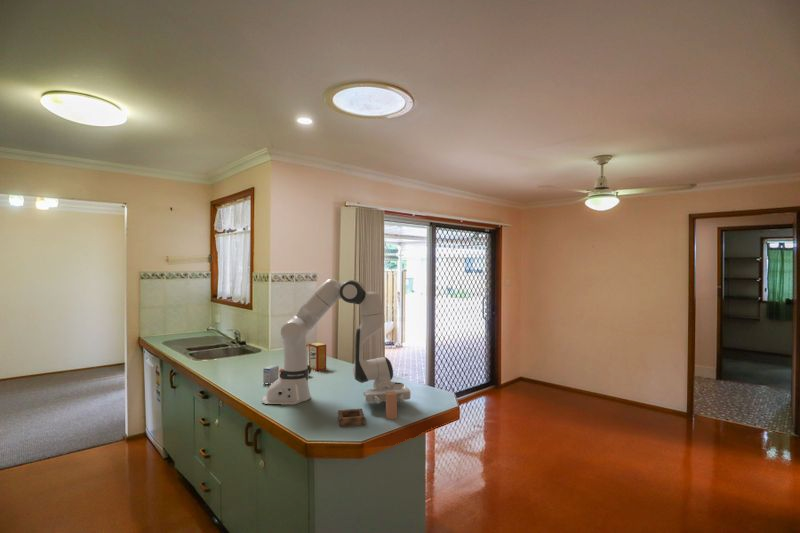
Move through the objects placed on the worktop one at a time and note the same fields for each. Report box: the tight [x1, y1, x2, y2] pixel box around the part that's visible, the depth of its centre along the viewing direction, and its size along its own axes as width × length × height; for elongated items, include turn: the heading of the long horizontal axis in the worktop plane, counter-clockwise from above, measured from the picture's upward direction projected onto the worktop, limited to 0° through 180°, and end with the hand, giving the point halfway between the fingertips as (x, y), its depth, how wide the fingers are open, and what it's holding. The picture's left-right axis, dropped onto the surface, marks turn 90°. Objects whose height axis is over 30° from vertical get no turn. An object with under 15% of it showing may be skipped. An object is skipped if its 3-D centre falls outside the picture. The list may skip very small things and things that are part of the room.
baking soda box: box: [308, 342, 327, 372], centre depth 243 cm, size 10×6×16 cm
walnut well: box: [337, 408, 366, 428], centre depth 158 cm, size 10×10×3 cm
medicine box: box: [262, 364, 280, 384], centre depth 213 cm, size 8×4×9 cm, turn 163°
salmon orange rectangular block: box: [385, 391, 398, 420], centre depth 163 cm, size 4×4×10 cm
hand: (390, 400), depth 165 cm, fingers open, 8 cm apart
